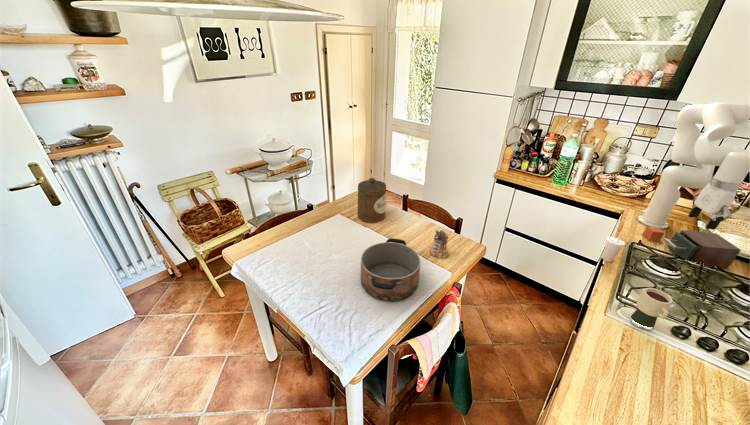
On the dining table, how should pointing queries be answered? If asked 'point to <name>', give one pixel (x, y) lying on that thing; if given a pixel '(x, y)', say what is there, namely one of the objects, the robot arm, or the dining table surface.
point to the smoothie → (612, 248)
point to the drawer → (682, 246)
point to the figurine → (439, 245)
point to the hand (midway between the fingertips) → (701, 222)
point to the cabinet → (712, 249)
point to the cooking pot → (390, 270)
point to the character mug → (651, 306)
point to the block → (653, 233)
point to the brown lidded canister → (371, 200)
